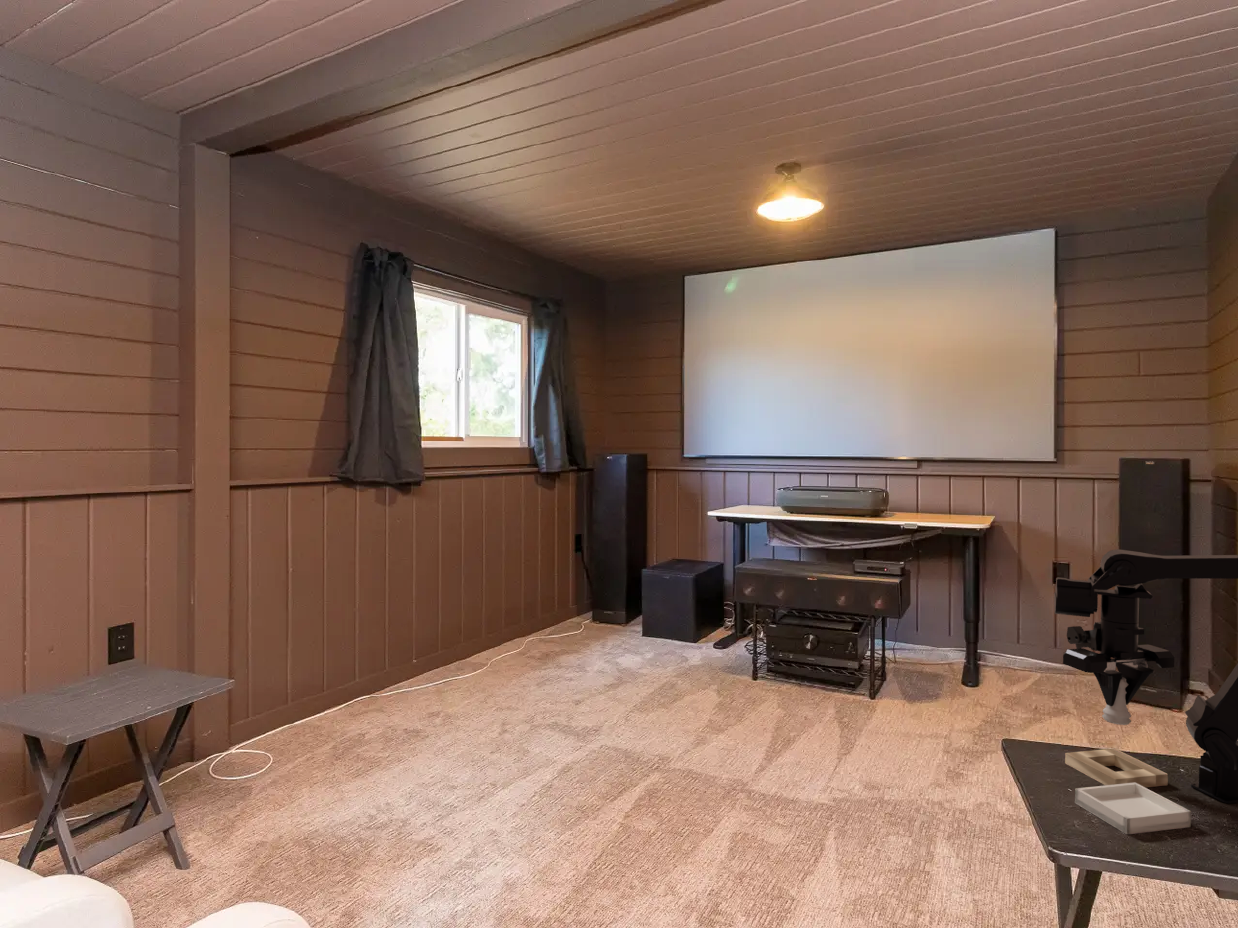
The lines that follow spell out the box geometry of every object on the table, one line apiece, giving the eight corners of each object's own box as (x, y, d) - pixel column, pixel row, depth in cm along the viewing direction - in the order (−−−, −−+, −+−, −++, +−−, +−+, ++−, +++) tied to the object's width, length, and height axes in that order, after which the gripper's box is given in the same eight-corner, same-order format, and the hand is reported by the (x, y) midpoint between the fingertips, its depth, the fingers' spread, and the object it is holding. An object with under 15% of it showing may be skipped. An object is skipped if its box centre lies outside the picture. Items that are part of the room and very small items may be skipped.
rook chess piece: (1136, 726, 132) (1137, 682, 131) (1108, 724, 133) (1109, 680, 132) (1124, 717, 136) (1125, 674, 136) (1097, 715, 137) (1098, 673, 137)
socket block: (1114, 758, 141) (1114, 748, 141) (1167, 784, 131) (1167, 773, 131) (1065, 763, 139) (1065, 752, 139) (1114, 790, 128) (1115, 779, 128)
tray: (1134, 796, 126) (1135, 782, 126) (1190, 826, 117) (1191, 811, 116) (1074, 802, 124) (1075, 788, 124) (1126, 834, 114) (1127, 818, 114)
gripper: (1124, 607, 143) (1122, 686, 144) (1041, 611, 140) (1039, 693, 140) (1178, 621, 133) (1175, 707, 133) (1089, 626, 129) (1086, 714, 129)
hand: (1117, 704), depth 134 cm, fingers closed on rook chess piece, 3 cm apart
